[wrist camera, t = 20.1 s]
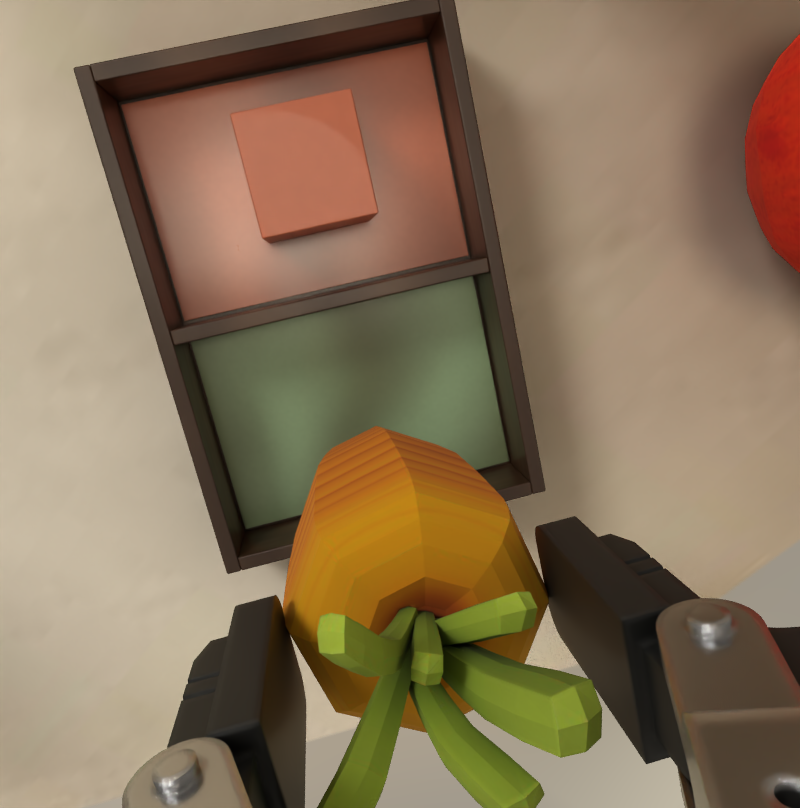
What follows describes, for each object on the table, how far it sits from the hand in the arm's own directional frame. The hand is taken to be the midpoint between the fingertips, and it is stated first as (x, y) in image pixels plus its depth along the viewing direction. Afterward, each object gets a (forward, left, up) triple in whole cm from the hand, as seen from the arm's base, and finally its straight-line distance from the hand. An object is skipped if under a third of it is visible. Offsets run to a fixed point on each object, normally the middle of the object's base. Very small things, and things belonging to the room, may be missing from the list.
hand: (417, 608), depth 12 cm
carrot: (0, 0, -11) cm, 11 cm away
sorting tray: (0, +5, -19) cm, 20 cm away
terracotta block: (0, +10, -19) cm, 21 cm away
